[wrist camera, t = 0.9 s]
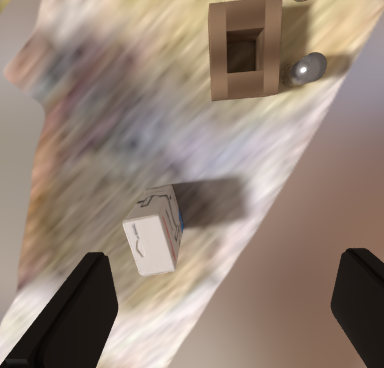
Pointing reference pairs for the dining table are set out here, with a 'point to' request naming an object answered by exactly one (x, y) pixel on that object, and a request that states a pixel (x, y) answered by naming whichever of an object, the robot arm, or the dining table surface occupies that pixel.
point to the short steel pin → (304, 70)
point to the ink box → (155, 231)
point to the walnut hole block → (241, 32)
